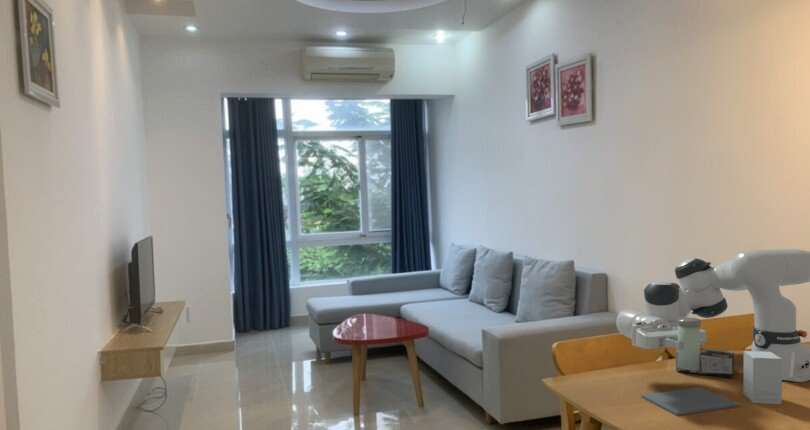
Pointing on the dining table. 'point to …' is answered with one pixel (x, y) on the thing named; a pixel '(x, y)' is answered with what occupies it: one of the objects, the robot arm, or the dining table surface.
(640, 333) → the robot arm
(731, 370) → the coffee box
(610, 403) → the dining table surface
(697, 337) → the ceramic jar
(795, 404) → the dining table surface
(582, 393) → the dining table surface
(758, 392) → the supplement box
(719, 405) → the cutting board
